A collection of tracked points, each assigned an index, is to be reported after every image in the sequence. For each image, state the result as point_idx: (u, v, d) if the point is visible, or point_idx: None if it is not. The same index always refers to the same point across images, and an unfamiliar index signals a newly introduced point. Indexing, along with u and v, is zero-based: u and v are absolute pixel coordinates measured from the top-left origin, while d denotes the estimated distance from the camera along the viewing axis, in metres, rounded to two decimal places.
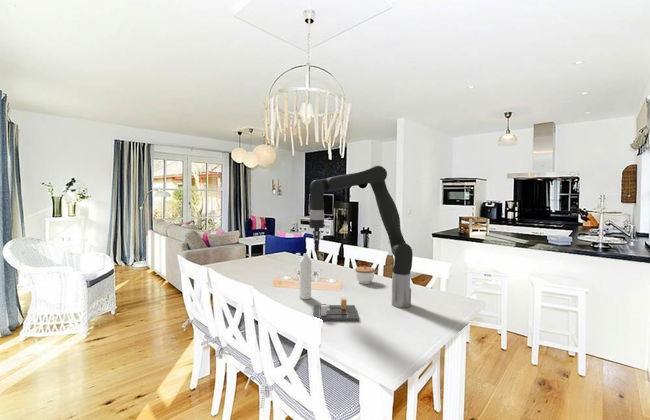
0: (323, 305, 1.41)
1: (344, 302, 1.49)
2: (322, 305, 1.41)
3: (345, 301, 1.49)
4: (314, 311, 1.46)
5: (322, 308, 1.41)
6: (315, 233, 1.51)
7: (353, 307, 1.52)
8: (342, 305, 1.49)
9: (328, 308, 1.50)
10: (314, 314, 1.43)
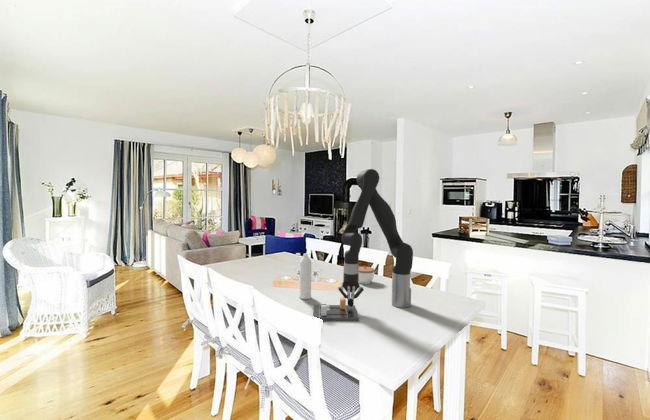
0: (323, 305, 1.41)
1: (343, 302, 1.49)
2: (322, 305, 1.41)
3: (344, 301, 1.49)
4: (314, 311, 1.46)
5: (322, 308, 1.41)
6: None
7: (353, 307, 1.52)
8: (341, 305, 1.49)
9: (328, 308, 1.50)
10: (314, 314, 1.43)
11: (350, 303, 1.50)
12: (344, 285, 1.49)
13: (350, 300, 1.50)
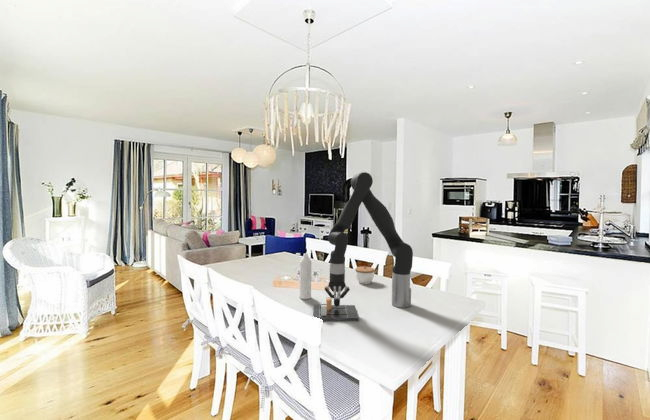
0: (323, 305, 1.41)
1: (329, 302, 1.49)
2: (322, 305, 1.41)
3: (330, 301, 1.49)
4: (314, 311, 1.46)
5: (322, 308, 1.41)
6: None
7: (353, 307, 1.52)
8: (327, 305, 1.49)
9: None
10: (314, 314, 1.43)
11: (336, 303, 1.50)
12: (330, 285, 1.49)
13: (336, 300, 1.50)
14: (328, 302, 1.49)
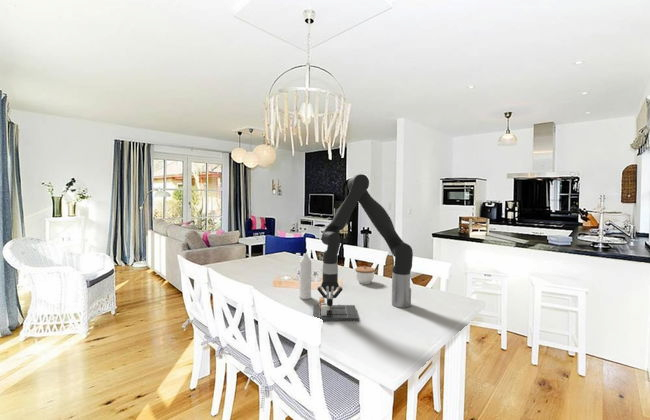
0: (323, 305, 1.41)
1: (322, 302, 1.49)
2: (322, 305, 1.41)
3: (323, 301, 1.49)
4: (314, 311, 1.46)
5: (322, 308, 1.41)
6: None
7: (353, 307, 1.52)
8: (320, 305, 1.49)
9: (328, 308, 1.50)
10: (314, 314, 1.43)
11: (329, 303, 1.50)
12: (323, 285, 1.49)
13: (329, 300, 1.50)
14: (321, 302, 1.49)
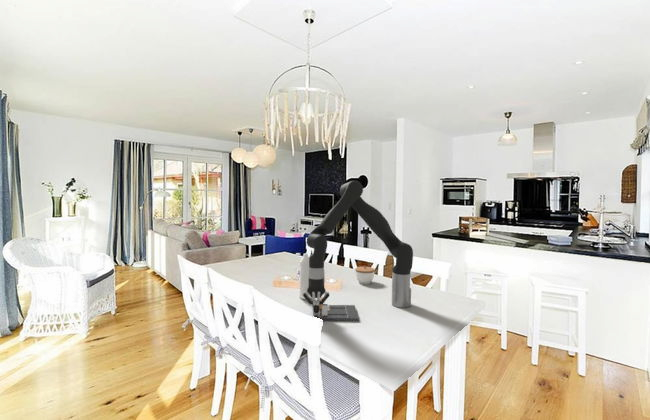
0: (324, 305, 1.41)
1: None
2: (323, 305, 1.41)
3: None
4: None
5: (323, 308, 1.41)
6: None
7: (353, 307, 1.52)
8: (320, 305, 1.49)
9: (328, 308, 1.50)
10: (314, 314, 1.43)
11: (315, 309, 1.42)
12: (309, 290, 1.41)
13: (315, 306, 1.42)
14: None
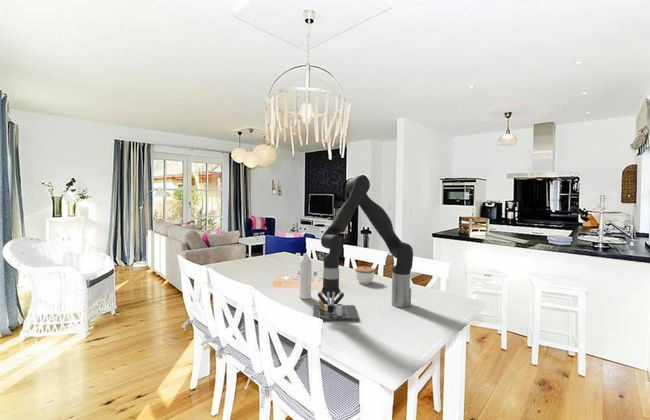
0: (339, 305, 1.42)
1: (322, 302, 1.49)
2: (338, 305, 1.42)
3: None
4: (314, 311, 1.46)
5: (338, 308, 1.41)
6: None
7: (353, 307, 1.52)
8: (320, 305, 1.49)
9: None
10: (314, 314, 1.43)
11: (330, 309, 1.42)
12: (323, 290, 1.41)
13: (330, 306, 1.42)
14: (321, 302, 1.49)
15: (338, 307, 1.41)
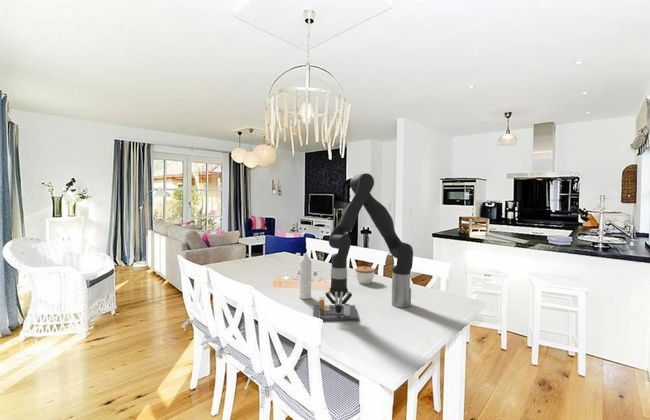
0: (346, 305, 1.42)
1: (322, 302, 1.49)
2: (345, 305, 1.42)
3: (323, 301, 1.49)
4: (314, 311, 1.46)
5: (345, 308, 1.41)
6: None
7: (353, 307, 1.52)
8: (320, 305, 1.49)
9: (328, 308, 1.50)
10: (314, 314, 1.43)
11: (338, 309, 1.42)
12: (331, 290, 1.41)
13: (338, 306, 1.42)
14: (321, 302, 1.49)
15: (346, 307, 1.41)
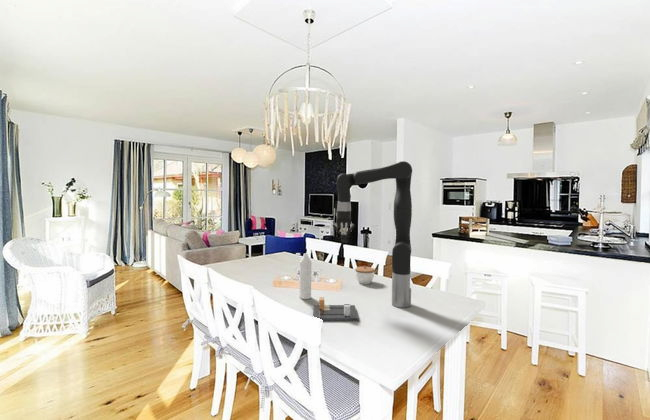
0: (346, 305, 1.42)
1: (322, 302, 1.49)
2: (345, 305, 1.42)
3: (323, 301, 1.49)
4: (314, 311, 1.46)
5: (346, 308, 1.41)
6: None
7: (353, 307, 1.52)
8: (320, 305, 1.49)
9: (328, 308, 1.50)
10: (314, 314, 1.43)
11: (343, 238, 1.67)
12: (338, 222, 1.67)
13: (343, 235, 1.67)
14: (321, 302, 1.49)
15: (346, 307, 1.41)
